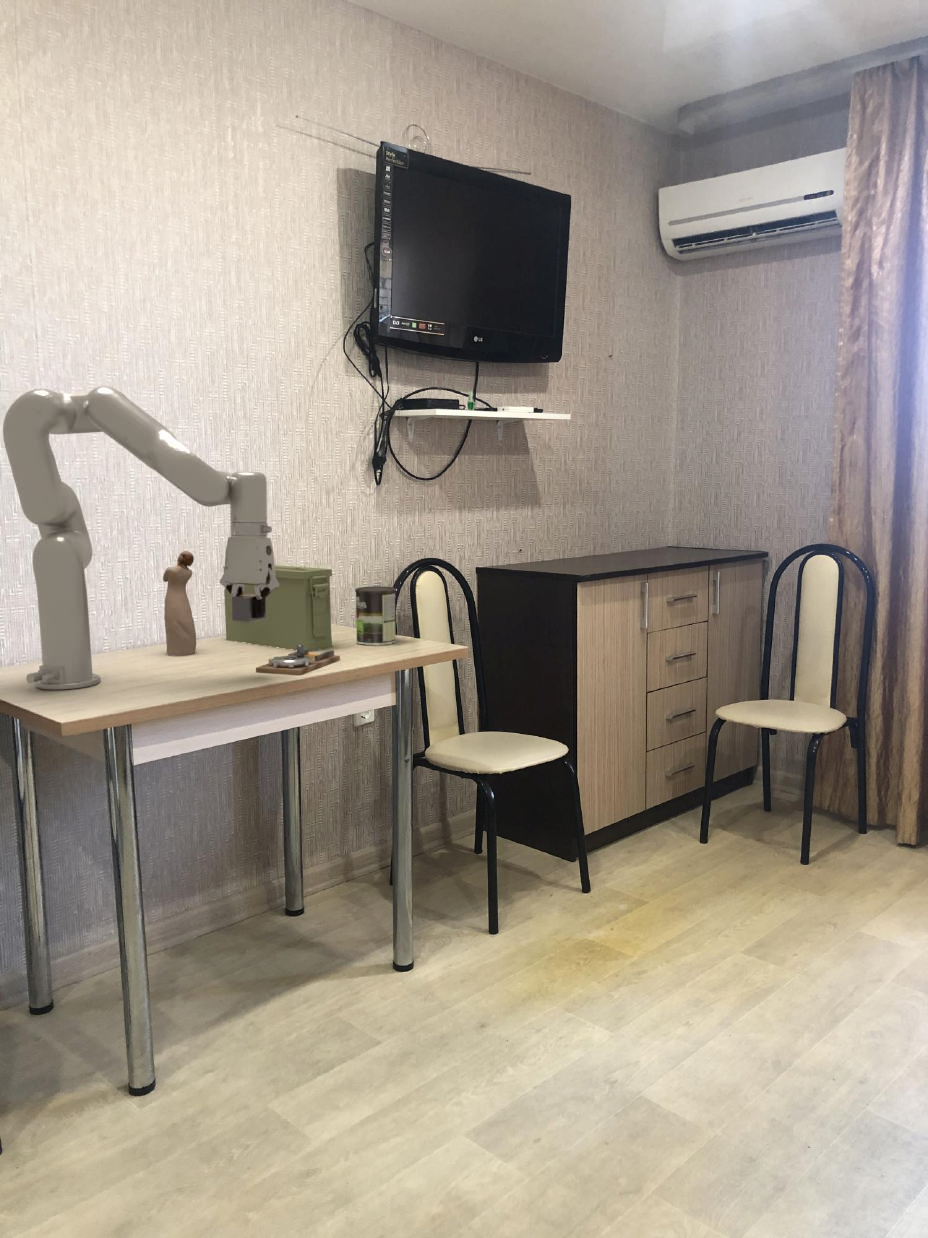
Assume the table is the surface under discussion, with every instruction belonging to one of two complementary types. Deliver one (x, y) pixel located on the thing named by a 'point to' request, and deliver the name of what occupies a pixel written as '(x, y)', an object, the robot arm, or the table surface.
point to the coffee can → (375, 615)
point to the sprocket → (292, 659)
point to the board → (318, 662)
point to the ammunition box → (288, 611)
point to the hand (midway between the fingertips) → (249, 616)
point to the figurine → (179, 608)
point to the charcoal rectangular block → (244, 608)
